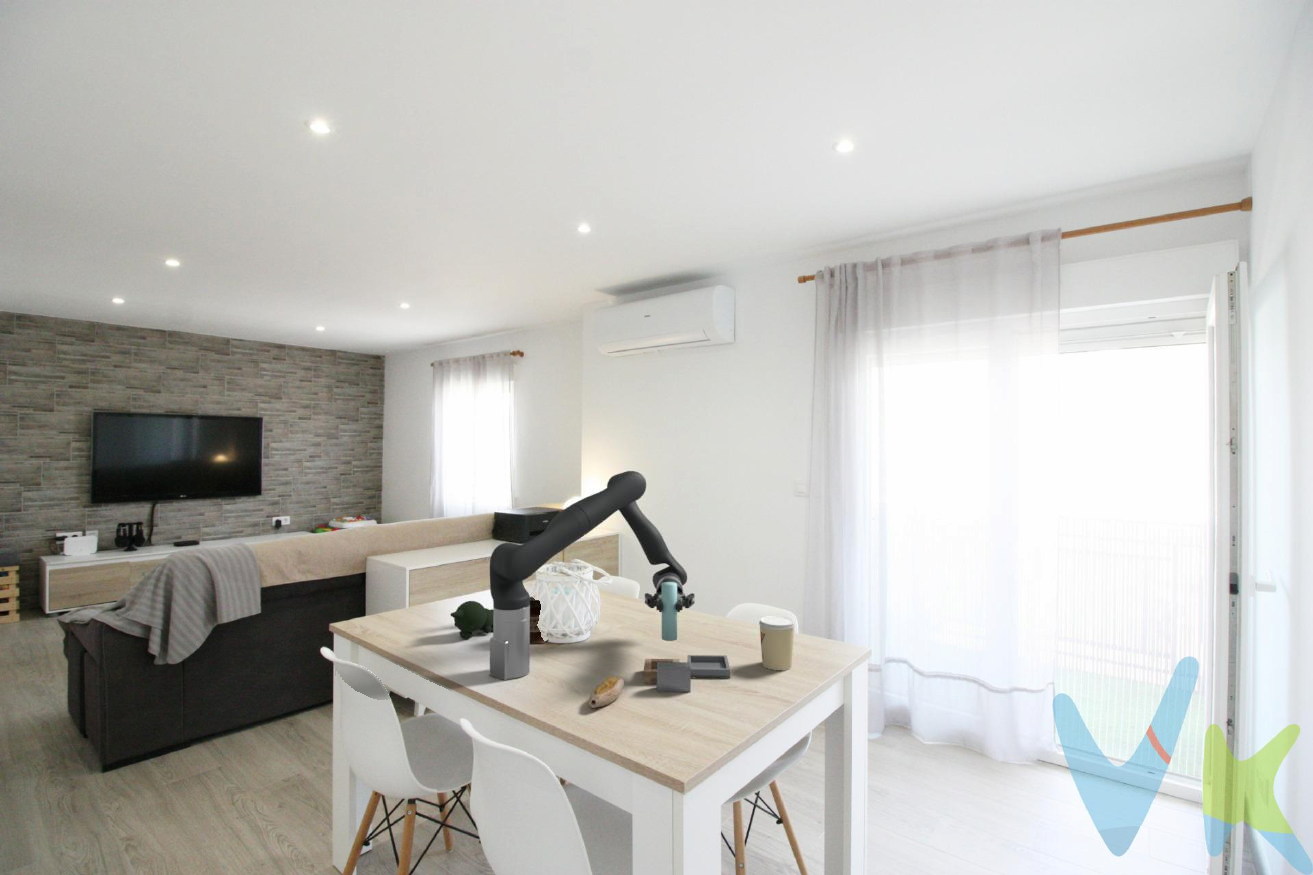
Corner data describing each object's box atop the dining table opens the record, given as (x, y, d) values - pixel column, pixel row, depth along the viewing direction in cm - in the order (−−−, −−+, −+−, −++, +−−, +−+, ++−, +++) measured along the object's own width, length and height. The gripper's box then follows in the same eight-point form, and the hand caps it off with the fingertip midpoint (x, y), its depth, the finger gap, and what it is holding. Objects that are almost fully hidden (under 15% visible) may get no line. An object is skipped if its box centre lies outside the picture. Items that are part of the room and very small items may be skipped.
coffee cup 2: (764, 657, 167) (764, 614, 167) (798, 662, 163) (798, 618, 163) (755, 668, 159) (754, 622, 159) (790, 674, 155) (790, 627, 155)
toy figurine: (498, 627, 201) (437, 640, 180) (502, 569, 203) (442, 576, 182) (519, 631, 197) (459, 645, 175) (523, 572, 199) (464, 579, 177)
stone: (581, 710, 133) (581, 690, 133) (612, 687, 146) (612, 669, 146) (601, 715, 131) (602, 694, 131) (631, 691, 144) (631, 673, 144)
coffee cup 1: (545, 646, 176) (545, 601, 177) (519, 644, 178) (519, 600, 178) (556, 637, 185) (556, 595, 185) (531, 635, 187) (531, 593, 187)
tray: (730, 677, 152) (730, 669, 152) (688, 677, 152) (688, 669, 152) (726, 663, 163) (726, 655, 163) (687, 662, 163) (687, 654, 163)
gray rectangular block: (690, 692, 143) (690, 666, 143) (657, 691, 143) (657, 666, 143) (690, 687, 146) (690, 662, 146) (657, 686, 146) (657, 661, 146)
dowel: (671, 641, 151) (671, 586, 151) (658, 638, 153) (658, 584, 154) (680, 637, 154) (680, 583, 154) (667, 634, 157) (667, 581, 157)
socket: (679, 683, 148) (679, 671, 148) (643, 683, 148) (643, 671, 148) (679, 670, 157) (679, 658, 157) (645, 670, 157) (645, 658, 157)
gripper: (644, 578, 169) (641, 593, 151) (694, 578, 168) (697, 593, 151) (644, 604, 168) (641, 622, 151) (695, 605, 168) (697, 623, 151)
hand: (669, 608), depth 151 cm, fingers closed on dowel, 4 cm apart
